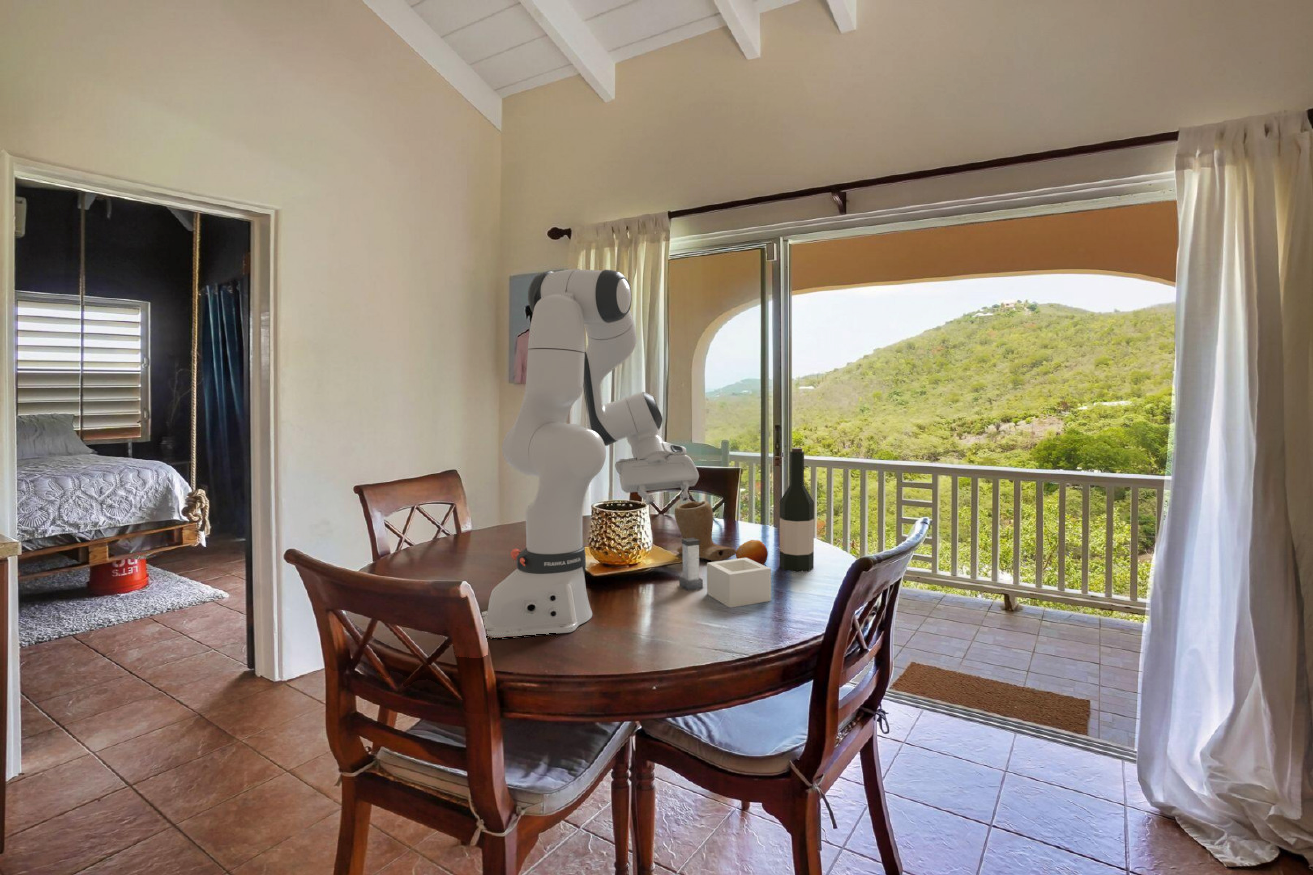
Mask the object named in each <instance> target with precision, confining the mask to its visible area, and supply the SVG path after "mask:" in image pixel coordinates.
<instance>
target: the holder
mask: <svg viewBox="0 0 1313 875" xmlns="http://www.w3.org/2000/svg"><path fill="white" fill-rule="evenodd" d="M706 594H707V595H709V596H710V597H711V598H713V599H714V600H716V601H718V602H719V603H722V604H723V605H725V606H726V607H728V608H737V607H741V606H747V605H754V604H759V603H760V604H761V603H766V602H771V601H772V600H771V599H772V568H771V567H768V566H765V565H762V564H760V563H757V562H755V561H753V560H751V559H748V558H739V559H737V558H732V559H725V560H722V561H711V562H707V563H706Z"/></svg>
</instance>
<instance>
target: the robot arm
mask: <svg viewBox="0 0 1313 875" xmlns="http://www.w3.org/2000/svg"><path fill="white" fill-rule="evenodd" d="M527 290H528V291H527V301H528V305H529V308H530V311H531V313H532V315H531V316H532V317H531V321H530V327H529V331H528V332H529V334H528V343H527V360H526V362H527V364H526V377H525V378H526V380H525V388H524V389H525V390H524V393H523V394H524V395H523V398H522V403H521V406H520V408H519V411H518V414H517V418H516V420H515V422H514V424H513V425H512V427H511V428H510V429H509V430H508V431H507V433H506V434H505V436H504V437H503V441H502V445H501V446H502V447H501V453H502V456H503V458H504V460H505V462H506V464H507V465H509V466H510V468H513V469H515V470H516V471H518V472H520V473H522V474H524V475H527V476H532V477H538V478H539V480H538V482H539V483H538V487H537V488H538V489H537V492H536V495H535V498H534V500H533V501H532V502H531V503H529V505H528V506H527V507H526V509H525V510H526V511H525V537H526V538H525V539H526V546H525V548H524V549H523V550H520V549H518V548H513V549H512V550H511V551H510V557H511V558H512V559H513V560H514V561H515V562H516V569H515V570H514V571H513V572H511V573H510V574H509V575H508V576H506V578H504V579H503V580H502V581H501V582H500V583H498V584H497V585H495V587H494V588H493V589H492V591H491V593H490V596H489V599H488V605H487V606H488V607H487V610H485V611H481V613H482V616H483V619H484V625H485V629H487V634H488V636H489V635H490V636H492V637H494V638H495V637H506V636H522V635H535V636H537V635H536V634H546V635H550V634H549V633H556V634H567V633H572V632H574V631H576V629H578V627H579V626H580V625H583V624H585V623H586V622H588V621H590V619H592V617H593V611H592V608H591V604H590V601H589V598H588V596H589V595H588V593H587V588H586V587H587V586H586V585H587V584H586V578H585V573H586V567H587V559H586V558H587V557H586V548H585V546H584V544H583V515H584V514H583V512H584V511H583V510H584V503H585V500H586V499H585V498H586V495H587V491H588V490H589V486H590V485H591V482H592V481H593V479H594V478H595V477H596V476H597V475H598V474H599V473H600V472H601V470H602V469H603V467H604V465H605V461H606V455H607V453H606V452H607V450H606V447H607V446H610V445H612V444H614V443H617V442H619V441H620V440H623V439H626V440H627V443H628V445H629V446H630V447H631V455H632V458H631V457H630V458H626V459H625V458H620V459H619V461H616V463H615V465H614V467H615V470H616V473H617V474H618V476H619V482H620V488H621V490H622V491H623V492H624V493H628V494H630V493H637V495H638V496H640V498H642V499H643V500H644V501H645V504H646V505H647V506H649V505H653V504H654V501H655V499H654V498H653V497H654V496H653V494H649V493H648V492H649V491H659V490H668V489H677V488H680V490H681V492H680V495H679V498H680V500H681V501H688V500H689V498H690V494H689V492H688V491H689V488H690V487H695V486H696V484H697V483H698V481H699V478H700V474H699V471H698V469H697V466H696V465H695V463H694V461H693V460H692V458H691V457H690V456H689V455H687V448H686V447H685V446H681V445H677V444H673V443H669V442H666V441H665V440H664V439H663V438H662V436H661V433H660V432H661V431H660V429H661V427H662V423H663V416H662V413H661V411H660V409H659V407H658V403H657V401H656V398H655V397H654V396H652V395H651V394H649V393H647V392H644V391H641V392H637V393H634V394H631V395H628V396H625V397H623V398H620V399H616V400H613V401H611V402H608V403H603V398H602V391H601V388H602V387H601V384H602V382H603V380H604V379H605V377H607V375H609V373H610V372H612V371H613V370H614V369H616V368H617V367H619V366H620V365H621V364H623V363H624V362H626V361H627V360H628V358H630V356H631V355H632V353H633V351H635V348H636V344H637V341H638V339H637V337H638V336H637V331H636V325H635V322H634V318H633V315H632V311H631V306H632V301H633V300H632V296H633V295H632V288H631V285H630V283H629V280H628V278H626V277H625V276H624V274H623V273H622V272H620V271H616V270H614V269H604V270H597V269H580V268H574V269H565V270H564V269H563V270H557V271H551V270H550V271H546V272H542V273H539V274H538V275H536V276H534V278H533V280H532V281H531V282H530V284H529V287H528V289H527ZM585 332H586V334H585ZM586 336H587V346H586ZM582 394H584V399H585V400H584V402H585V407H586V426H587V427H585V426H583V425H579V424H577V423H567V421H568V417H569V414H570V412H571V409H572V408H573V405H574V403H575V402H576V401H577V400H579V398H580V397H581V396H582ZM647 491H648V492H647Z"/></svg>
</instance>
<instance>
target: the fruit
mask: <svg viewBox="0 0 1313 875" xmlns="http://www.w3.org/2000/svg"><path fill="white" fill-rule="evenodd" d="M768 552H769V551H768V549H767V547H766V545H765V544H764V542H762V541H761V540H758V539H751V540H748V541H746V542H744V543H742V544H741V545H739V546H738V548H737V549H736V554H735V557H736V558H735V559H739V558H748V559H751V560H753V561H755V562H757V563H760V564H762V565H764V566H766V562H767V559H768V554H769V553H768ZM766 567H767V566H766Z"/></svg>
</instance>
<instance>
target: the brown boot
mask: <svg viewBox="0 0 1313 875" xmlns="http://www.w3.org/2000/svg"><path fill="white" fill-rule="evenodd" d="M674 518H675V521H676V525H677V528H678V529H679V531H680V534H681V538H682V539H687V538H695V539H697V540H700V545H699V559H702V560H708V561H712V562H716V561H724V560H729V559H730V558H731V557H733V556H734V555H735V556H736V551H737V549H735V548H732V547H728V546H724V545H723V546H722V545H719V544H716V543H714V541H713V525H714V512H713V508H712V505H711V503H710V502H708V501H707V500H703V501H696V500H695V501H694V500H693V501H689V502H684V503H682V504H678V505H677V506H676V507H675V508H674ZM676 551H677V553H678V554H681V555H683V554H682V545H681V546H679V547H678V548H677V549H676Z"/></svg>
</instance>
